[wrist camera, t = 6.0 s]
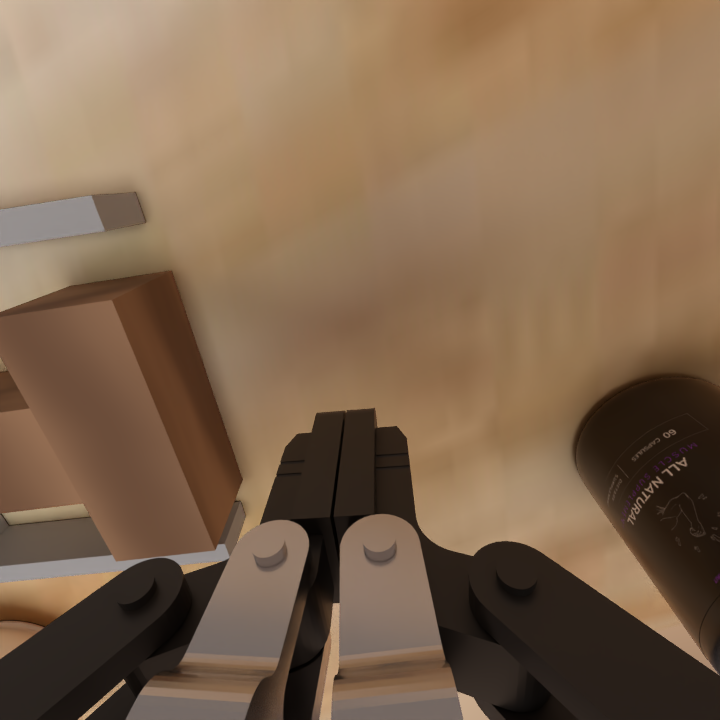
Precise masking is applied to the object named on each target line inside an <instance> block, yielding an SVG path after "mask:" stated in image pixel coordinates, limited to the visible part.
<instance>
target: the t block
mask: <svg viewBox="0 0 720 720" xmlns="http://www.w3.org/2000/svg"><path fill="white" fill-rule="evenodd" d="M0 357H1V359H2V360H3V362H4V364H5V366H6V367H7V369H8V371H5V372H0V513H8V512H16V511H24V510H33V509H41V508H49V507H58V506H66V505H74V504H82V503H83V504H84V506H85V508H86V509H87V511H88V513H89V515H90V516H91V518H92V520H93V522H94V524H95V525H96V527H97V529H98V531H99V532H100V534H101V536H102V538H103V539H104V541H105V543H106V545H107V547H108V548H109V550H110V552H111V554H112V555H113V557H114V559H115V561H116V562H117V561H126V560H135V559H144V558H153V557H162V556H171V555H180V554H189V553H198V552H207V551H215V550H216V548H217V545H218V543H219V540H220V537H221V535H222V532H223V530H224V527H225V524H226V522H227V519H228V517H229V514H230V511H231V509H232V506H233V504H234V501H235V498H236V496H237V493H238V491H239V488H240V485H241V483H242V480H243V479H242V476H241V473H240V471H239V468H238V465H237V462H236V459H235V456H234V453H233V450H232V447H231V444H230V441H229V438H228V435H227V432H226V429H225V426H224V423H223V420H222V418H221V415H220V412H219V409H218V406H217V403H216V400H215V397H214V394H213V391H212V388H211V385H210V382H209V379H208V376H207V373H206V370H205V368H204V365H203V362H202V359H201V356H200V353H199V350H198V347H197V344H196V341H195V338H194V335H193V332H192V329H191V326H190V323H189V320H188V318H187V315H186V312H185V309H184V306H183V303H182V300H181V297H180V294H179V291H178V288H177V285H176V282H175V279H174V276H173V273H172V271H165V272H159V273H152V274H146V275H139V276H133V277H126V278H120V279H113V280H107V281H100V282H94V283H87V284H81V285H74V286H69V287H67V288H64V289H61V290H58V291H56V292H53V293H50V294H48V295H45V296H42V297H40V298H37V299H34V300H32V301H29V302H26V303H24V304H21V305H18V306H16V307H13V308H10V309H8V310H5V311H2V312H0Z"/></svg>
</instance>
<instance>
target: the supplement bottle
mask: <svg viewBox="0 0 720 720" xmlns="http://www.w3.org/2000/svg"><path fill="white" fill-rule="evenodd" d="M576 463H577V468H578V472H579V475H580V477H581V479H582V481H583V482H584V484H585V486H586V487H587V489H588V490H589V491H590V493H591V494H592V496H593V498H594V499H595V500H596V502H597V503H598V505H599V506H600V508H601V509H602V510H603V512H604V513H605V515H606V516H607V518H608V519H609V520H610V522H611V523H612V525H613V526H614V528H615V529H616V530H617V532H618V533H619V535H620V536H621V538H622V539H623V540H624V542H625V543H626V545H627V546H628V548H629V549H630V550H631V552H632V553H633V555H634V556H635V557H636V559H637V560H638V562H639V563H640V565H641V566H642V567H643V569H644V570H645V572H646V573H647V575H648V576H649V577H650V579H651V580H652V582H653V583H654V585H655V586H656V587H657V589H658V590H659V592H660V593H661V595H662V596H663V597H664V599H665V600H666V602H667V603H668V605H669V606H670V607H671V609H672V610H673V612H674V613H675V614H676V616H677V617H678V619H679V620H680V622H681V623H682V624H683V626H684V627H685V629H686V630H687V632H688V633H689V634H690V636H691V637H692V639H693V640H694V641H695V643H696V644H697V646H698V647H699V649H700V650H701V651H702V653H703V654H704V656H705V657H706V658H707V660H708V661H709V662H710V663H711V665H712V666H713V667H714V669H715V670H716V671H717V673H718V674H719V675H720V387H718V386H716V385H714V384H712V383H710V382H707V381H704V380H699V379H695V378H688V377H666V378H659V379H654V380H650V381H646V382H643V383H640V384H637V385H634V386H632V387H630V388H628V389H625V390H624V391H622V392H620V393H618V394H617V395H615V396H614V397H612V398H611V399H609V400H608V401H607V402H605V403H604V404H603V405H602V406H601V407H600V408H599V409H598V410H597V411H596V412H595V413H594V414H593V415H592V416H591V418H590V419H589V420H588V422H587V423H586V425H585V427H584V428H583V430H582V433H581V435H580V437H579V440H578V444H577V449H576Z"/></svg>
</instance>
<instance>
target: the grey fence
mask: <svg viewBox="0 0 720 720" xmlns="http://www.w3.org/2000/svg"><path fill="white" fill-rule="evenodd" d="M142 223H146V222H145V219H144V216H143V213H142V210H141V207H140V204H139V201H138V198H137V195H136V193H120V194H104V195H90V196H84V197H77V198H71V199H65V200H58V201H52V202H45V203H39V204H33V205H26V206H20V207H14V208H7V209H1V210H0V247H3V246H10V245H17V244H23V243H30V242H36V241H43V240H50V239H56V238H63V237H70V236H76V235H83V234H89V233H96V232H103V231H108V230H113V229H118V228H123V227H128V226H132V225H137V224H142ZM245 517H246V516H245V513H244V510H243V507H242V504H241V501H238V502H234V504H233V506H232V509H231V511H230V514H229V517H228V519H227V522H226V524H225V527H224V530H223V532H222V535H221V537H220V540H219V543H218V545H217V548H216V550H215V551H207V552H198V553H189V554H180V555H171V556H162V557H153V558H168V559H171V560H174V561H175V562H177V563H178V564H179V565H186V564H196V563H207V562H217V561H225V560H226V559H228V558H230V556H231V554H232V551H233V549H234V548H235V546H236V544H237V541H238V538H239V535H240V532H241V529H242V526H243V523H244V520H245ZM153 558H144V559H135V560H126V561H117V562H116V561H115V559H114V557H113V555H112V554H111V552H110V550H109V548H108V547H107V545H106V543H105V541H104V539H103V538H102V536H101V534H100V532H99V531H98V529H97V527H96V525H95V524H94V522H93V520H92V518H91V517H89V518H79V519H70V520H61V521H51V522H42V523H32V524H23V525H14V526H9V525H8V524H7V522H6V521H5V519H4V518H3V516H2V515H1V514H0V583H3V582H13V581H23V580H33V579H43V578H54V577H64V576H74V575H84V574H94V573H105V572H115V571H125V570H126V569H128V568H129V567H131V566H133V565H135V564H137V563H140V562H142V561H145V560H149V559H153Z"/></svg>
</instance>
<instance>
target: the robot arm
mask: <svg viewBox="0 0 720 720" xmlns="http://www.w3.org/2000/svg"><path fill="white" fill-rule="evenodd" d="M276 475H277V477H275V480H274V483H273V486H272V489H271V492H270V495H269V498H268V501H267V504H266V507H265V511H264V514H263V517H262V520H261V523H260V525H258V526H256V527H255V528H253V529H251V530H250V531H249V532H247V533H246V534H245V535H244V536H243V537H242V538H241V539H240V540H239V542H238V543H237V544H236V546H235V548H234V549H233V551H232V554H231V556H230V558H228V559H226V560H225V561H222V562H220V563H217V564H214V565H211V566H208V567H205V568H202V569H199V570H196V571H193V572H190V573H187V574H185V575H184V574H183V571H182V569H181V567H180V566H179V564H178V563H177V562H175V561H174V560H171V559H168V558H153V559H149V560H145V561H142V562H140V563H137V564H135V565H133V566H131V567H129V568H128V569H126V570H125V571H123V572H122V573H120V574H119V575H118V576H116V577H115V578H113V579H112V580H110V581H109V582H108V583H106V584H105V585H103V586H102V587H101V588H99V589H98V590H96V591H95V592H94V593H92V594H91V595H89V596H88V597H87V598H85V599H84V600H82V601H81V602H80V603H78V604H77V605H75V606H74V607H73V608H71V609H70V610H68V611H67V612H66V613H64V614H63V615H61V616H60V617H59V618H57V619H56V620H54V621H53V622H52V623H50V624H49V625H47V626H46V627H45V628H43V629H42V630H40V631H39V632H38V633H36V634H35V635H33V636H32V637H31V638H29V639H28V640H26V641H25V642H23V643H22V644H21V645H19V646H18V647H16V648H15V649H14V650H12V651H11V652H9V653H8V654H7V655H5V656H4V657H2V658H1V659H0V720H78V719H79V718H80V717H81V716H82V715H83V714H85V713H86V712H87V711H88V710H89V709H90V708H91V707H92V706H94V705H95V704H96V703H97V702H98V701H99V700H100V699H101V698H103V697H104V696H105V695H106V694H107V693H108V692H109V691H111V690H112V689H113V688H114V687H115V686H116V685H117V684H118V683H120V682H121V681H122V680H123V679H124V680H125V682H126V683H125V684H124V685H123V686H122V687H121V688H120V689H119V690H117V691H116V692H115V693H114V694H113V695H112V696H111V697H110V698H109V699H107V700H106V701H105V702H104V703H103V704H102V705H101V706H100V707H99V708H97V709H96V710H95V711H94V712H93V713H92V714H91V715H90V716H88V717H87V718H86V719H85V720H319V717H320V711H321V705H322V699H323V693H324V687H325V680H326V674H327V668H328V662H329V656H330V650H331V634H330V627H331V617H332V607H333V603H340V617H339V670H338V674H337V675H335V677H334V682H333V691H332V712H331V720H463V716H462V712H461V707H460V703H459V699H458V694H457V691H458V692H461V693H464V694H466V695H469V696H472V697H474V699H475V700H476V702H477V704H478V706H479V707H480V708H481V710H482V711H483V712H484V714H485V715H486V716H487V717H488V718H489V719H490V720H720V676H719V675H718V674H716V673H715V672H713V671H712V670H710V669H709V668H707V667H706V666H705V665H703V664H702V663H700V662H699V661H697V660H696V659H694V658H693V657H692V656H690V655H689V654H687V653H686V652H684V651H683V650H681V649H680V648H679V647H677V646H676V645H674V644H673V643H671V642H670V641H668V640H667V639H666V638H664V637H663V636H661V635H660V634H658V633H657V632H655V631H654V630H653V629H651V628H650V627H648V626H647V625H645V624H644V623H642V622H641V621H640V620H638V619H637V618H635V617H634V616H632V615H631V614H629V613H628V612H627V611H625V610H624V609H622V608H621V607H619V606H618V605H616V604H615V603H613V602H612V601H611V600H609V599H608V598H606V597H605V596H603V595H602V594H600V593H599V592H598V591H596V590H595V589H593V588H592V587H590V586H589V585H587V584H586V583H585V582H583V581H582V580H580V579H579V578H577V577H576V576H574V575H573V574H572V573H570V572H569V571H567V570H566V569H564V568H563V567H561V566H560V565H558V564H557V563H556V562H554V561H553V560H551V559H550V558H548V557H547V556H545V555H544V554H543V553H541V552H539V551H538V550H536V549H534V548H532V547H530V546H527V545H524V544H521V543H517V542H509V541H502V542H495V543H491V544H488V545H486V546H484V547H483V548H481V549H480V550H478V552H477V553H476V554H475V555H474V556H470V555H466V554H462V553H458V552H453V551H450V550H447V549H444V548H442V547H440V546H438V545H436V544H435V543H433V542H432V541H431V540H429V539H428V538H427V537H426V536H425V535H424V534H423V532H422V531H421V529H420V528H419V526H418V523H417V520H416V514H415V505H414V497H413V488H412V480H411V471H410V463H409V455H408V446H407V438H406V437H405V436H404V434H403V433H402V432H401V431H400V430H399V428H398V427H397V426H394V427H380V428H377V419H376V411H375V408H372V409H360V410H347V412H345V411H336V412H323V413H317V414H316V417H315V421H314V425H313V429H312V433H302V434H297V435H296V436H295V437H294V438H293V439H292V440H291V442H290V443H289V444H288V445H287V446H286V447H285V450H284V453H283V456H282V459H281V465H279V468H278V471H277V474H276Z"/></svg>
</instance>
